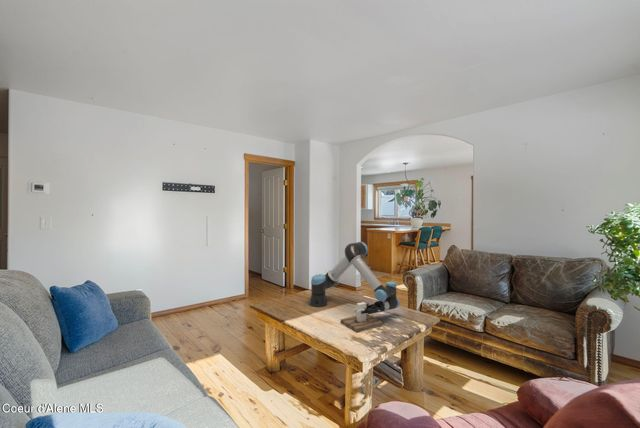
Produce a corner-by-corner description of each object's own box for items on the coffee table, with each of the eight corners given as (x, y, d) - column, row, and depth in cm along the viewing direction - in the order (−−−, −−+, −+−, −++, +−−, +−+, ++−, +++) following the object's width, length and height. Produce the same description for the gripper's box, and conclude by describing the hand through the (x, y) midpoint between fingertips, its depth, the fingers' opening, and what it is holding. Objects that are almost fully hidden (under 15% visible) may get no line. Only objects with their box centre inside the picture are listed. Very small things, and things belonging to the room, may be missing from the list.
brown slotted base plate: (340, 322, 199) (340, 319, 199) (365, 316, 210) (365, 313, 210) (356, 332, 183) (356, 328, 183) (382, 325, 194) (382, 321, 194)
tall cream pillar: (356, 321, 196) (356, 303, 196) (363, 319, 199) (363, 302, 199) (359, 322, 194) (359, 304, 193) (366, 320, 197) (366, 303, 196)
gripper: (389, 314, 199) (362, 321, 187) (373, 307, 212) (347, 314, 200) (389, 304, 199) (362, 310, 186) (373, 297, 212) (347, 303, 200)
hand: (355, 312), depth 194 cm, fingers closed on tall cream pillar, 3 cm apart
